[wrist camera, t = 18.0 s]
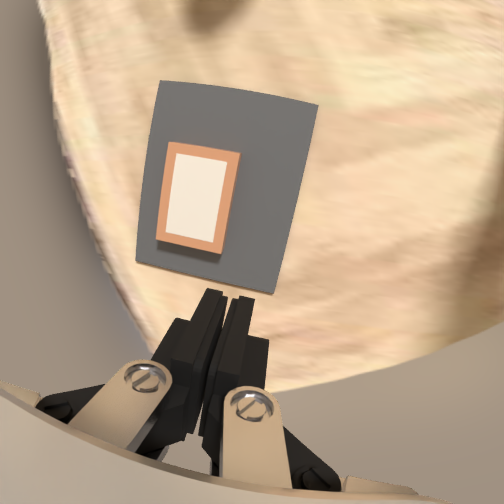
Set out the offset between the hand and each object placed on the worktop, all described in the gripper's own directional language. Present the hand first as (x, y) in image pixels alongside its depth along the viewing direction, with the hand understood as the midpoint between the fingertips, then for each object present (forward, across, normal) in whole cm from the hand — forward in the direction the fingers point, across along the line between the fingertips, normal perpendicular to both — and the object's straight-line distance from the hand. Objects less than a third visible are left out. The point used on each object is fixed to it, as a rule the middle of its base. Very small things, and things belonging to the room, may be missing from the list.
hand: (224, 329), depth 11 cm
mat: (+22, +5, -1) cm, 23 cm away
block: (+21, +3, 0) cm, 21 cm away
